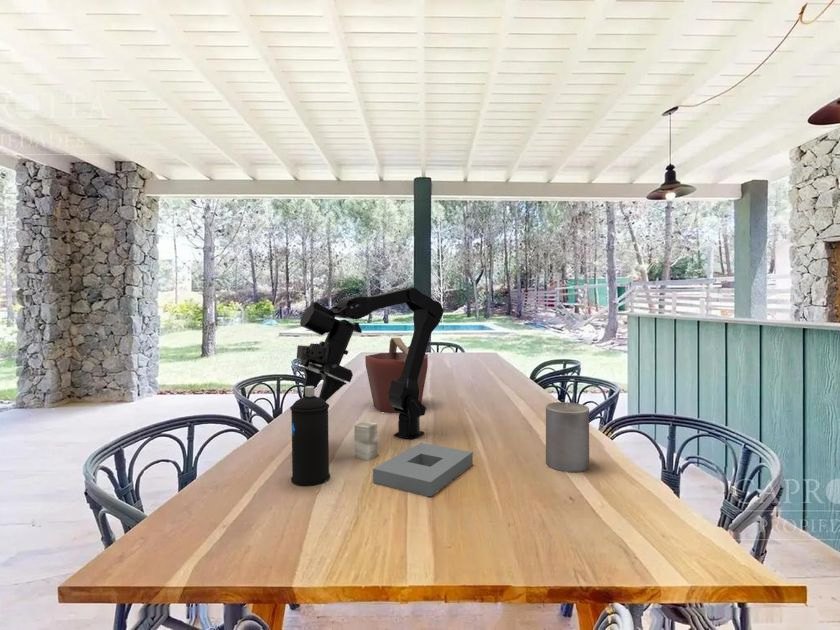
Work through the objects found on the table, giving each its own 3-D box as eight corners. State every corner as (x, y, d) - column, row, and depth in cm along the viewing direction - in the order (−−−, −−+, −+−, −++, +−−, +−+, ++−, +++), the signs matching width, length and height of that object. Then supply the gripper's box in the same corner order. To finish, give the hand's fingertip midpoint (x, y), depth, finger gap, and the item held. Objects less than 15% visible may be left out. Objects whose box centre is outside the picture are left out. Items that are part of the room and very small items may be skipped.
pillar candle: (558, 454, 112) (558, 394, 112) (596, 464, 105) (596, 400, 105) (537, 465, 106) (537, 401, 105) (577, 476, 99) (577, 408, 98)
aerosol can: (337, 473, 101) (336, 384, 100) (317, 488, 93) (315, 391, 92) (305, 469, 103) (304, 382, 102) (283, 483, 95) (281, 389, 95)
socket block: (421, 454, 113) (421, 442, 113) (472, 464, 106) (472, 452, 106) (373, 482, 96) (372, 468, 96) (430, 497, 88) (430, 482, 88)
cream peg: (364, 452, 114) (364, 421, 114) (377, 455, 112) (377, 423, 112) (354, 457, 111) (354, 425, 111) (367, 460, 109) (367, 427, 109)
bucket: (427, 416, 149) (427, 341, 148) (360, 416, 149) (360, 341, 148) (427, 400, 173) (427, 335, 172) (370, 400, 173) (369, 335, 172)
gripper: (295, 327, 118) (269, 384, 114) (325, 332, 103) (297, 397, 99) (330, 344, 124) (307, 398, 120) (364, 350, 109) (338, 412, 105)
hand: (311, 401), depth 111 cm, fingers open, 9 cm apart
